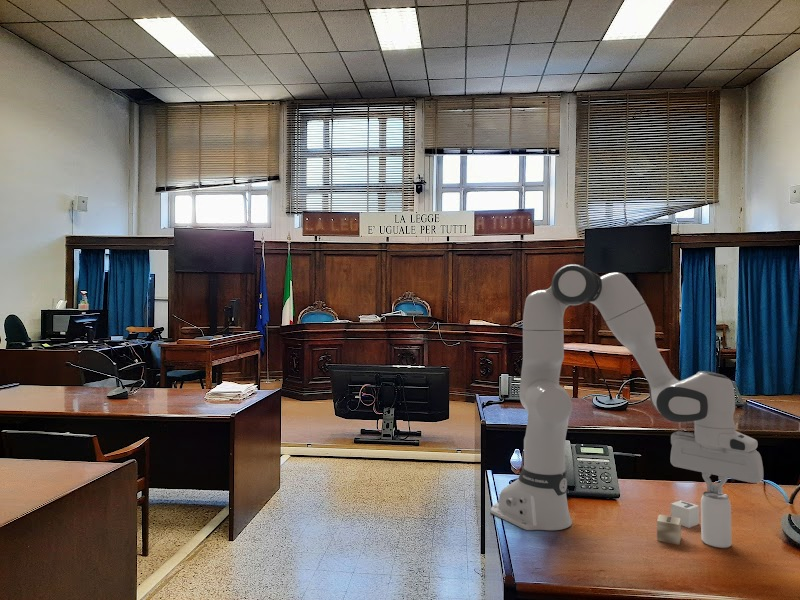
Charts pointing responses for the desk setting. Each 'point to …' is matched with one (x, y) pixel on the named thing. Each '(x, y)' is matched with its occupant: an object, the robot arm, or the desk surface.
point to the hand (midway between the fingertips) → (714, 492)
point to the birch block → (669, 529)
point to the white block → (685, 513)
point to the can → (716, 519)
